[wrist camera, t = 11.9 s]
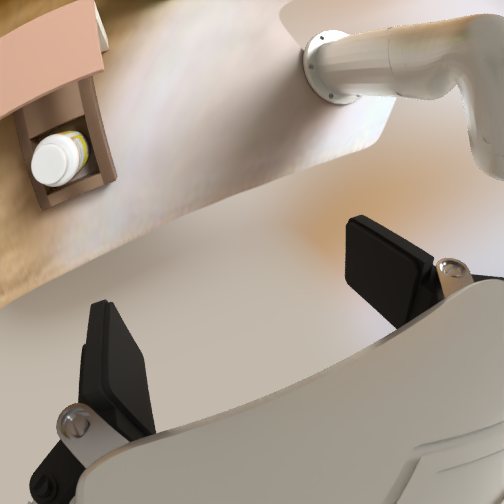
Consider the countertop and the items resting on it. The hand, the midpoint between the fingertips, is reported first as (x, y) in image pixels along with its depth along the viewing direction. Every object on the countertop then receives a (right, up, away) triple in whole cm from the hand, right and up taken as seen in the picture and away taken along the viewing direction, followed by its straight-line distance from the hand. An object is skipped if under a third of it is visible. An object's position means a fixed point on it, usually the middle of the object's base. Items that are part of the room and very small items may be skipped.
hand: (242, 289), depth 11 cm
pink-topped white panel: (-24, +22, +14) cm, 36 cm away
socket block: (-23, +15, +18) cm, 33 cm away
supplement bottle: (-22, +14, +19) cm, 33 cm away
